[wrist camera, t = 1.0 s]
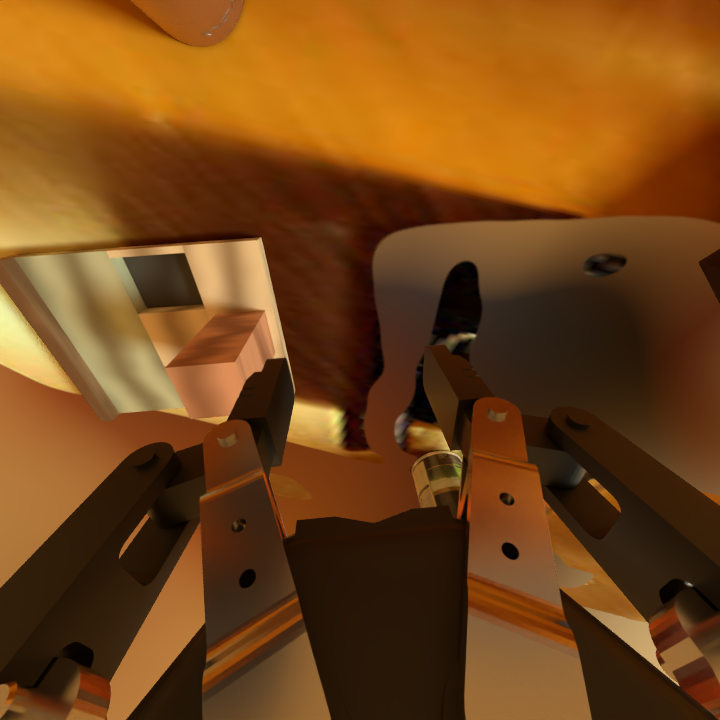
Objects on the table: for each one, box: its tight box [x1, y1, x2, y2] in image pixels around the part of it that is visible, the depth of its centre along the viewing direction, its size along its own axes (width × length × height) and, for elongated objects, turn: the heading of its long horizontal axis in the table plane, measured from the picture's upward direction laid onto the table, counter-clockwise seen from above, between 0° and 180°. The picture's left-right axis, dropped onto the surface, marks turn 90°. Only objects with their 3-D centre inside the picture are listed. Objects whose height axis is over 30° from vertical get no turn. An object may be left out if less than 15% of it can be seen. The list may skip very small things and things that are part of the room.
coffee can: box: [411, 451, 462, 518], centre depth 50 cm, size 10×10×14 cm
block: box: [165, 310, 275, 419], centre depth 31 cm, size 6×6×12 cm
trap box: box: [0, 237, 295, 421], centre depth 36 cm, size 27×22×4 cm
